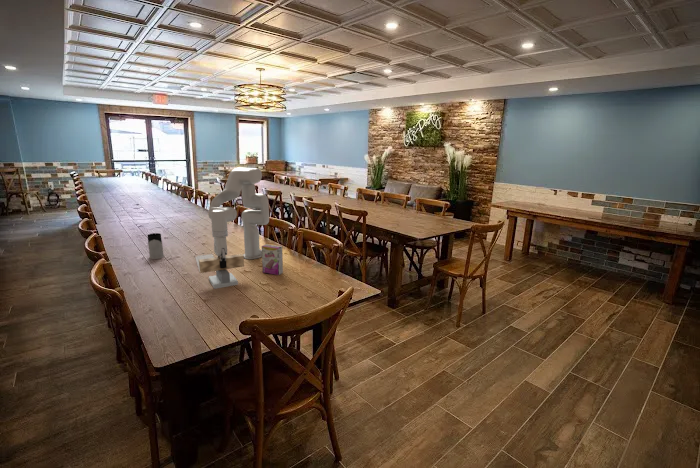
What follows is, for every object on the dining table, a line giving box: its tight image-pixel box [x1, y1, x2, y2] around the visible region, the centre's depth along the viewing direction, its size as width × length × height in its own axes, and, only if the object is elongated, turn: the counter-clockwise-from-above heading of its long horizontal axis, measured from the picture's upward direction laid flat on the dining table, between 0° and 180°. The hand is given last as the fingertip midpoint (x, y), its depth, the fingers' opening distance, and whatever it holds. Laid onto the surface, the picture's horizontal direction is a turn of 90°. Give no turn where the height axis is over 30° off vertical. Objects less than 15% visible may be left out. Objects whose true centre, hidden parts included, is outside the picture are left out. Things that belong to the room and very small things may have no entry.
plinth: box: [208, 269, 239, 289], centre depth 184 cm, size 12×14×7 cm
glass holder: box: [147, 232, 165, 260], centre depth 224 cm, size 9×14×15 cm, turn 24°
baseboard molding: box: [192, 252, 215, 273], centre depth 213 cm, size 31×3×12 cm
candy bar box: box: [261, 243, 284, 276], centre depth 198 cm, size 11×5×16 cm, turn 71°
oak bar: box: [199, 253, 245, 274], centre depth 183 cm, size 22×4×6 cm, turn 122°
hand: (222, 266), depth 183 cm, fingers closed on oak bar, 4 cm apart
